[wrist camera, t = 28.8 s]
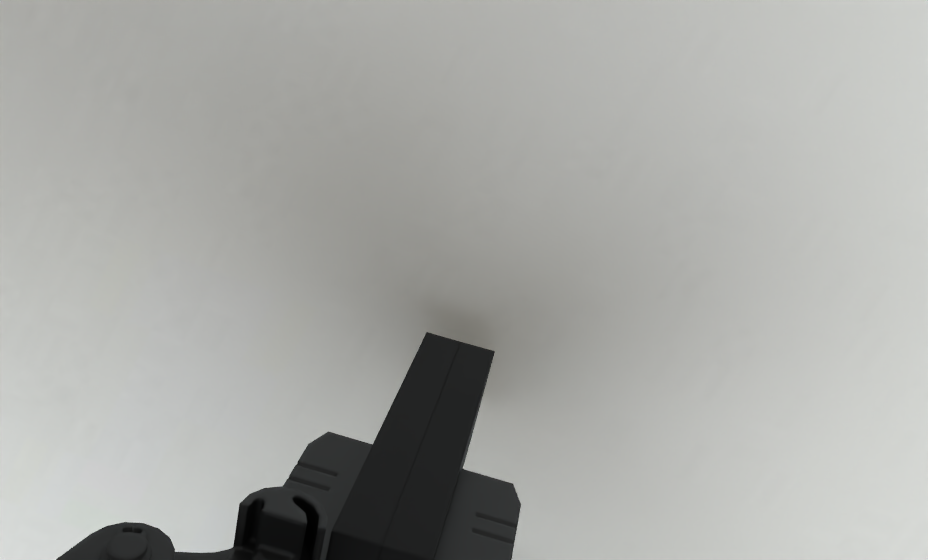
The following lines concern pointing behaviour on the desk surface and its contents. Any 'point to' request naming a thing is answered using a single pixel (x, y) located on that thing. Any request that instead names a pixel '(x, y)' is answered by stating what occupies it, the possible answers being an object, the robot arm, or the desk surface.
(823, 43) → the desk surface
